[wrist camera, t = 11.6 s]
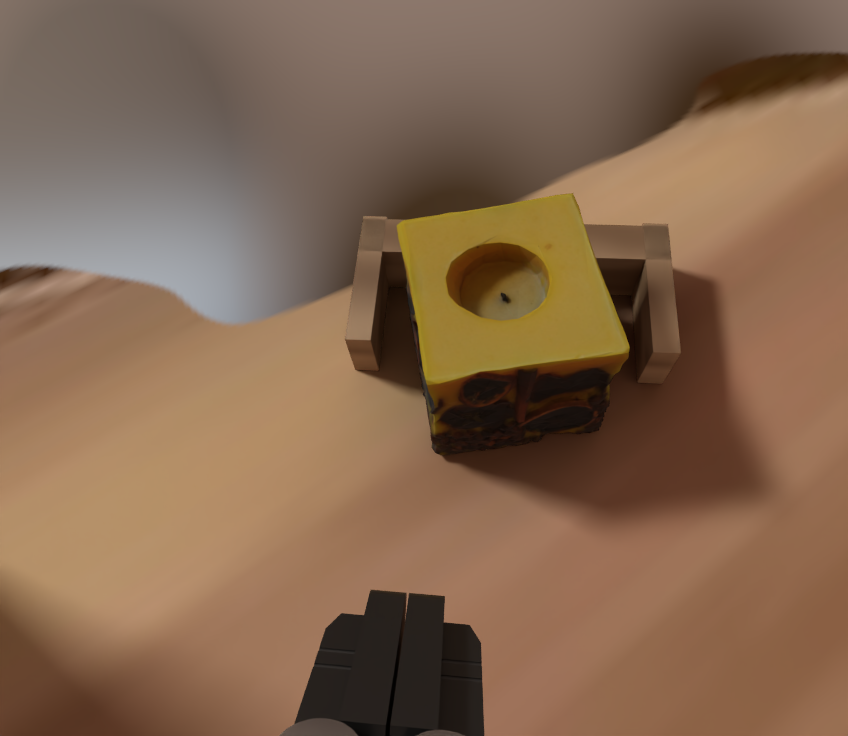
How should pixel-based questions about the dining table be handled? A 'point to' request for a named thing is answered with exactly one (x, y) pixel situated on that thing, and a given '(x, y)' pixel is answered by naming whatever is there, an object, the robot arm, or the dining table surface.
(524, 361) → the candle
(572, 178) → the dining table surface
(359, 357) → the dock
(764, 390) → the dining table surface
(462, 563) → the dining table surface
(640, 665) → the dining table surface
